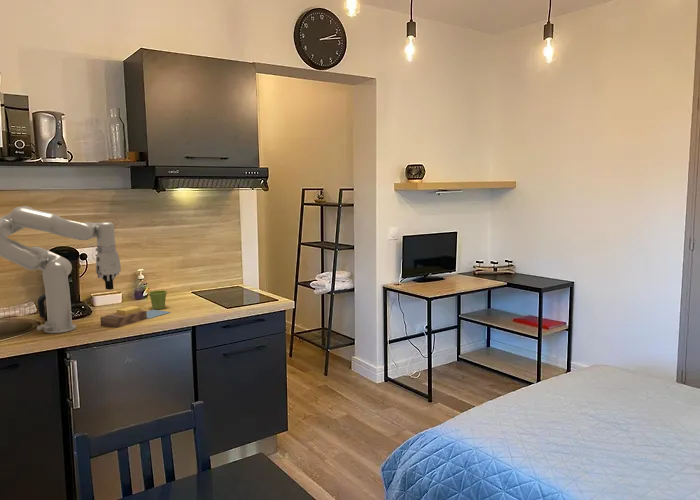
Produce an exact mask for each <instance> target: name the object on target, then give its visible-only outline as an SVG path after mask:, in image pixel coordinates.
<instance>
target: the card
mask: <svg viewBox="0 0 700 500" xmlns="http://www.w3.org/2000/svg"><path fill="white" fill-rule="evenodd" d="M141 310H142V307H141V306H135V305H131V306H130V305H129V306H126V307H122V308H118V309H116V313H117V314H121V315H129V314H132V313H136V312H140V311H141Z"/></svg>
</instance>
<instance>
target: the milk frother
mask: <svg viewBox="0 0 700 500" xmlns="http://www.w3.org/2000/svg"><path fill="white" fill-rule="evenodd" d="M45 301H46V295H45V293H43V294H41V295H40V296H39V297H38V299H37V307H38V314H39V317H40V318H42V319H44V318H45V317H46V309H45Z"/></svg>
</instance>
